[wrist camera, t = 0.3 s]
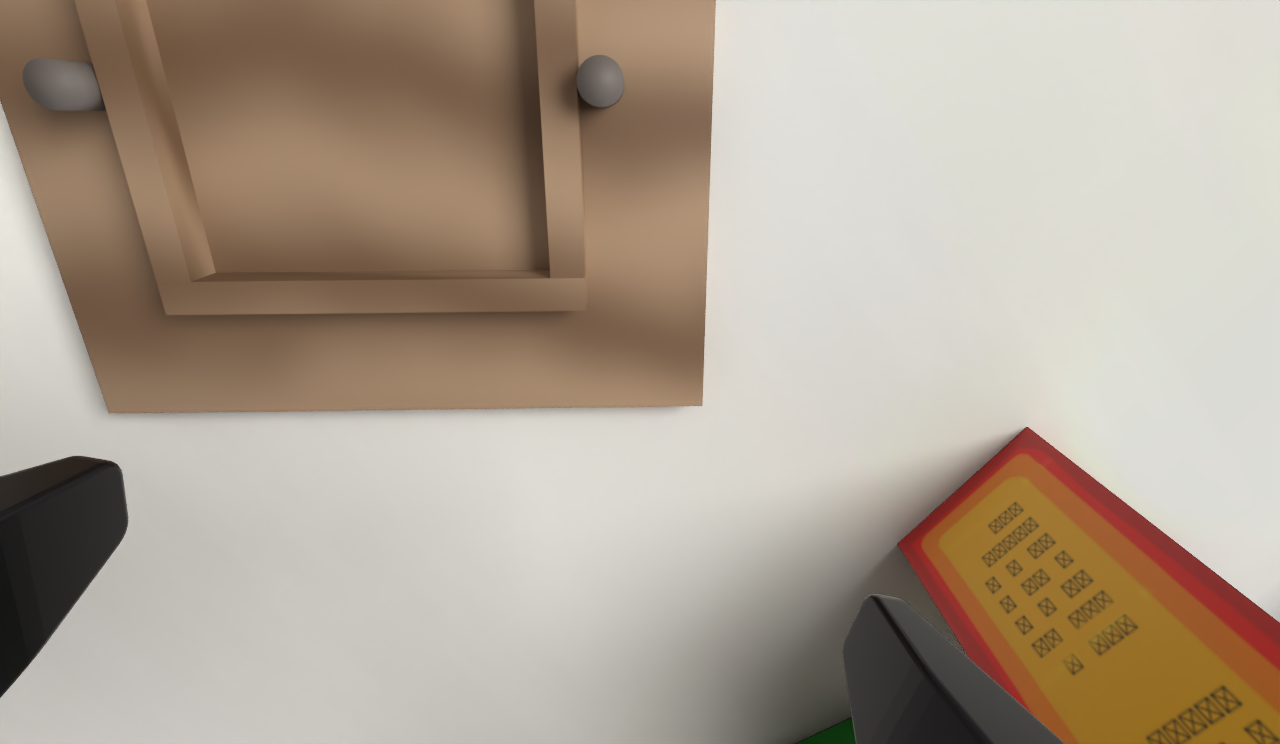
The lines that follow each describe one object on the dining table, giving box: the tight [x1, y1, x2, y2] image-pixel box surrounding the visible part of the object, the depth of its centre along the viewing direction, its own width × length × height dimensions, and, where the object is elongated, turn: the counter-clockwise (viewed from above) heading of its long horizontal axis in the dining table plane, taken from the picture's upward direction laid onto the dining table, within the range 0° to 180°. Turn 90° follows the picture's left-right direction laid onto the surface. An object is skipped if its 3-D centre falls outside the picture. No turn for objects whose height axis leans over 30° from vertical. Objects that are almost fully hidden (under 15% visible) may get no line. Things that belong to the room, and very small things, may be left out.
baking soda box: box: [898, 427, 1280, 744], centre depth 18 cm, size 10×6×16 cm
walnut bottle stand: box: [0, 0, 716, 413], centre depth 17 cm, size 20×20×3 cm
